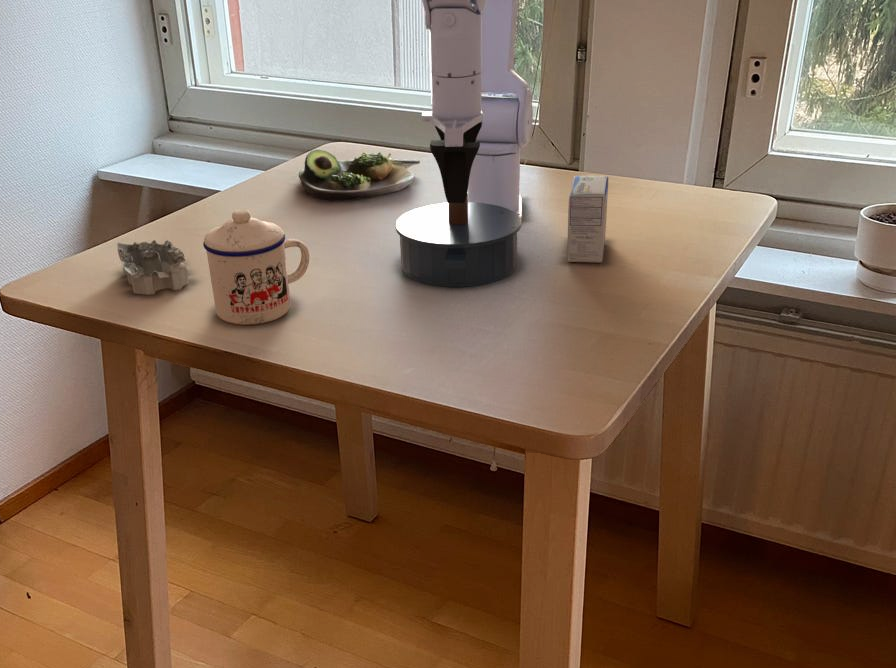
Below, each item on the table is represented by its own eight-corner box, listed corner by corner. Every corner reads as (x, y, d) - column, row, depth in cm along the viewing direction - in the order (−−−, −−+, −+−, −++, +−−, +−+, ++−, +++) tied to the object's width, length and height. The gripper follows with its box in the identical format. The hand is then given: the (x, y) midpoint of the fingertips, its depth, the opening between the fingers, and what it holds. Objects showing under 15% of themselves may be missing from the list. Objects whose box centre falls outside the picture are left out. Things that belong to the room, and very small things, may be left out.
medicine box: (602, 264, 124) (606, 194, 120) (565, 262, 125) (568, 193, 120) (605, 241, 131) (609, 175, 126) (570, 240, 132) (573, 174, 127)
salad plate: (403, 159, 166) (402, 130, 164) (442, 188, 152) (441, 158, 150) (289, 175, 161) (286, 146, 159) (318, 207, 147) (315, 175, 144)
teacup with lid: (231, 333, 111) (215, 231, 105) (203, 306, 118) (187, 208, 112) (328, 308, 116) (319, 209, 110) (296, 283, 123) (286, 189, 117)
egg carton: (192, 289, 123) (187, 257, 121) (130, 299, 121) (123, 267, 119) (179, 259, 131) (173, 229, 129) (120, 269, 129) (114, 238, 127)
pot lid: (390, 253, 118) (387, 216, 115) (402, 210, 131) (400, 176, 128) (521, 252, 117) (522, 214, 114) (520, 209, 129) (521, 174, 127)
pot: (394, 296, 118) (392, 255, 116) (408, 237, 135) (407, 201, 132) (517, 295, 117) (517, 254, 114) (516, 236, 134) (517, 199, 131)
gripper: (425, 60, 120) (428, 174, 127) (415, 87, 108) (420, 211, 115) (484, 59, 119) (484, 173, 127) (481, 86, 107) (481, 211, 115)
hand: (457, 192), depth 121 cm, fingers open, 7 cm apart
